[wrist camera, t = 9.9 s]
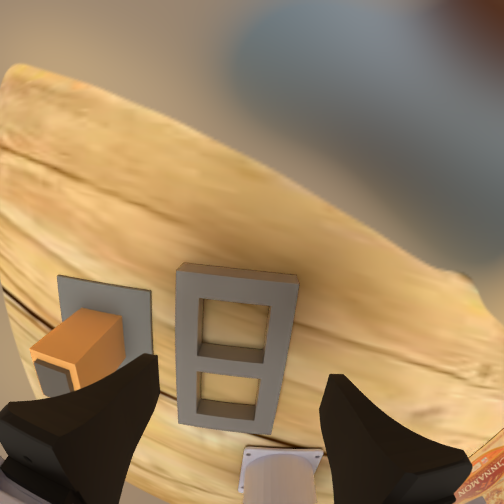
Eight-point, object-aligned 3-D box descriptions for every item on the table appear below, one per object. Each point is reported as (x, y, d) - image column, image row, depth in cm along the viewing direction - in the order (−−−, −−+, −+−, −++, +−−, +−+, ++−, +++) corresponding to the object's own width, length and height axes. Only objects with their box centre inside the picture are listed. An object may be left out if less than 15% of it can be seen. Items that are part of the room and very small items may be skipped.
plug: (125, 357, 23) (83, 415, 15) (87, 347, 23) (39, 398, 15) (121, 315, 22) (71, 368, 14) (81, 307, 22) (25, 351, 14)
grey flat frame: (270, 419, 24) (270, 434, 22) (183, 409, 24) (178, 423, 22) (296, 274, 21) (299, 284, 19) (183, 262, 21) (176, 270, 19)
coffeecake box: (508, 423, 25) (566, 502, 6) (510, 438, 26) (559, 509, 7) (428, 484, 28) (465, 577, 9) (438, 493, 29) (471, 574, 10)
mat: (155, 384, 24) (154, 386, 24) (71, 362, 24) (70, 363, 24) (151, 290, 22) (149, 292, 22) (58, 275, 22) (56, 275, 22)
